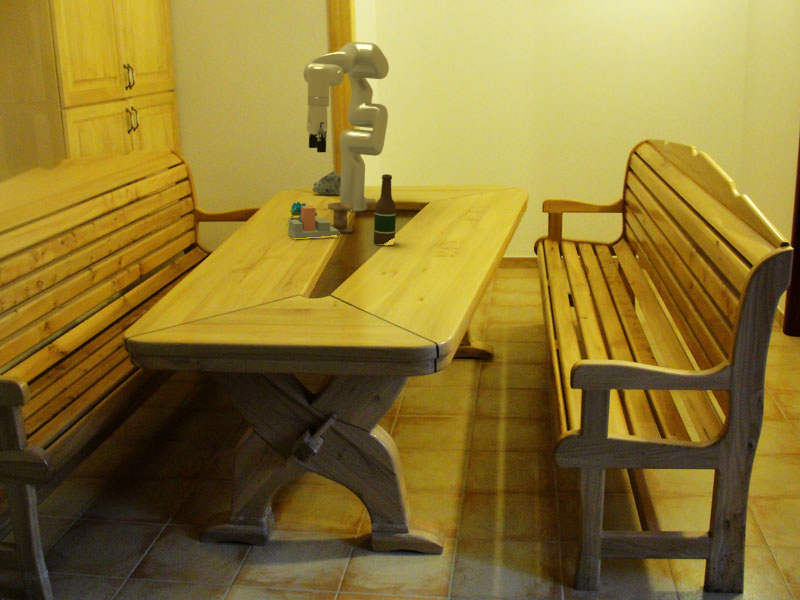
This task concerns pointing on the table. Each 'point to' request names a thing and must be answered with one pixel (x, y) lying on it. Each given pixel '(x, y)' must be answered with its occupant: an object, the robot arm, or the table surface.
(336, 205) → the bobbin
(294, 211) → the teal lobed piece
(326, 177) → the mineral rock
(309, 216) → the orange rectangular block
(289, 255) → the table surface
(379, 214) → the beer bottle
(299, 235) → the grey notched block
